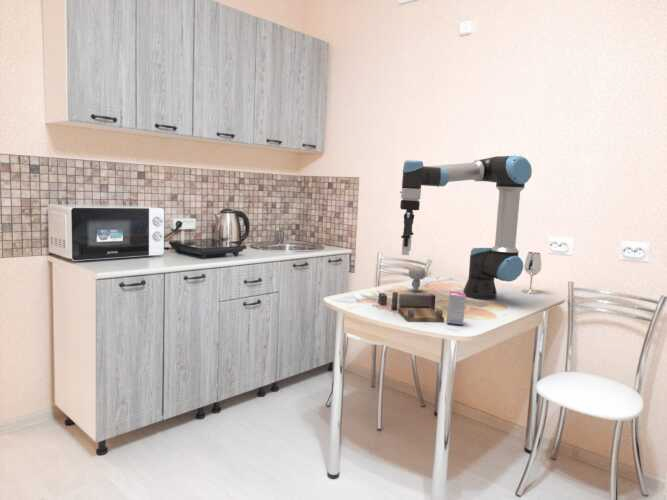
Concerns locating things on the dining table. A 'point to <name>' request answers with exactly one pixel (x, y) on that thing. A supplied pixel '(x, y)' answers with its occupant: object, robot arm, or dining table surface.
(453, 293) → the supplement box
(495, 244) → the robot arm
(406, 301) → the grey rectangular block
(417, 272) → the figurine
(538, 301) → the dining table surface
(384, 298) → the stop block
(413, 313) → the cabinet door
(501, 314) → the dining table surface
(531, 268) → the wineglass
